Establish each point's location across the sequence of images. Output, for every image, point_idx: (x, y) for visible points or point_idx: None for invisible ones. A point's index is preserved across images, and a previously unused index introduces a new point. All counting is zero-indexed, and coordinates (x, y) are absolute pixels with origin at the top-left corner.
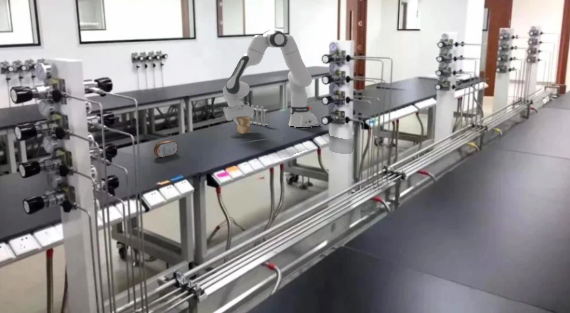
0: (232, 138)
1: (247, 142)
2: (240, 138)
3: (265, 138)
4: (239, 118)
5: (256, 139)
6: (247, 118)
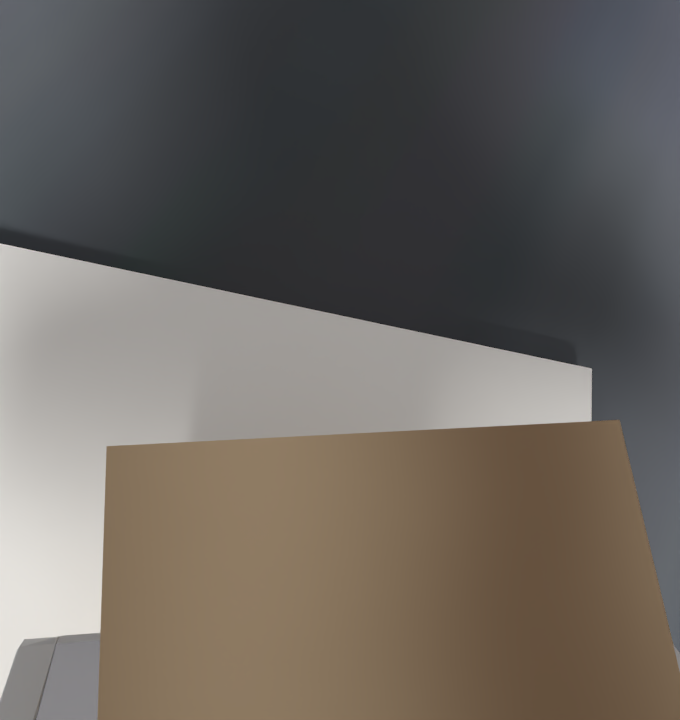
0: (661, 368)
1: (516, 45)
2: (527, 297)
3: (117, 76)
4: (660, 681)
5: (301, 105)
6: (275, 443)
